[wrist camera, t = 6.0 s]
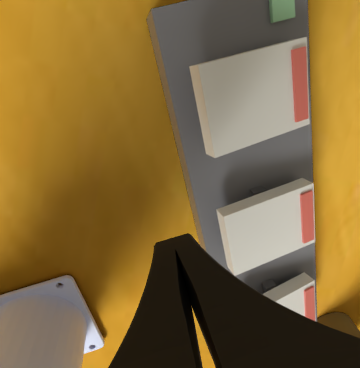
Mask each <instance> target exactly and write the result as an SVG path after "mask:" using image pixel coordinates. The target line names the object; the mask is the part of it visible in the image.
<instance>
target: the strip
mask: <svg viewBox="0 0 360 368" xmlns="http://www.w3.org/2000/svg"><path fill="white" fill-rule="evenodd" d="M146 20H147V24H148V28H149V32H150V37H151V41H152V45H153V49H154V53H155V58H156V62H157V66H158V70H159V74H160V79H161V83H162V87H163V91H164V96H165V100H166V104H167V108H168V112H169V117H170V121H171V125H172V129H173V133H174V138H175V142H176V146H177V150H178V154H179V159H180V163H181V167H182V171H183V175H184V180H185V184H186V188H187V192H188V196H189V201H190V205H191V209H192V213H193V217H194V222H195V226H196V230H197V234H198V238H199V243H200V246H201V247H202V248H203V249H204V250H205V251H206V252H207V253H208V254H209V255H210V256H211V257H212V258H213V259H215V260H216V261H217V262H218V263H219V264H220V265H221V266H223V267H224V268H225V269H226V270H228V271H229V272H230V273H232V272H231V271H230V269H229V268H228V267H227V262H226V257H225V252H224V247H223V242H222V236H221V231H220V226H219V221H218V216H217V211H216V209H219V208H222V207H224V206H227V205H230V204H232V203H235V202H238V201H241V200H243V199H246V198H249V197H252V196H254V195H257V194H260V193H262V192H265V191H268V190H271V189H273V188H276V187H279V186H281V185H284V184H287V183H290V182H292V181H295V180H298V179H300V178H304V179H306V180H308V181H310V182H312V183H313V163H312V129H311V95H310V60H309V26H308V0H188V1H184V2H179V3H175V4H171V5H166V6H162V7H158V8H153V9H151V10H150V12H149V15H148V17H147V19H146ZM303 37H307V58H308V89H309V120H310V124H308V125H306V126H303V127H300V128H297V129H295V130H292V131H289V132H286V133H283V134H281V135H278V136H275V137H272V138H270V139H267V140H264V141H261V142H259V143H256V144H253V145H250V146H247V147H245V148H242V149H239V150H236V151H234V152H231V153H228V154H225V155H223V156H220V157H217V158H214V157H211V156H209V155H207V154H206V150H205V145H204V140H203V135H202V130H201V125H200V120H199V115H198V109H197V104H196V99H195V94H194V89H193V84H192V79H191V73H190V68H189V66H193V65H197V64H200V63H204V62H208V61H212V60H216V59H220V58H224V57H227V56H231V55H235V54H239V53H243V52H247V51H250V50H254V49H258V48H262V47H266V46H270V45H274V44H277V43H281V42H285V41H289V40H293V39H298V38H303ZM304 272H305V273H306V274H307V275H308V276H310V277H311V278H312V279H314V280H315V309H316V322H317V299H316V265H315V242H314V243H312V244H309V245H307V246H305V247H302V248H300V249H298V250H295V251H293V252H291V253H288V254H286V255H283V256H281V257H279V258H276V259H274V260H272V261H269V262H267V263H265V264H262V265H260V266H257V267H255V268H253V269H250V270H248V271H246V272H243V273H241V274H238V275H236V277H237V278H238V279H240V280H241V281H242V282H244V283H245V284H247V285H248V286H250V287H251V288H253V289H255V290H256V291H258V292H259V293H261V294H264V293H266V292H267V291H269V290H271V289H273V288H275V287H277V286H279V285H281V284H283V283H285V282H286V281H288V280H290V279H292V278H294V277H296V276H298V275H300V274H302V273H304ZM232 274H233V273H232Z"/></svg>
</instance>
